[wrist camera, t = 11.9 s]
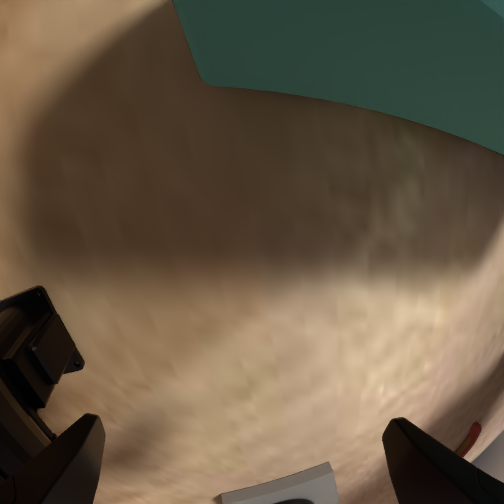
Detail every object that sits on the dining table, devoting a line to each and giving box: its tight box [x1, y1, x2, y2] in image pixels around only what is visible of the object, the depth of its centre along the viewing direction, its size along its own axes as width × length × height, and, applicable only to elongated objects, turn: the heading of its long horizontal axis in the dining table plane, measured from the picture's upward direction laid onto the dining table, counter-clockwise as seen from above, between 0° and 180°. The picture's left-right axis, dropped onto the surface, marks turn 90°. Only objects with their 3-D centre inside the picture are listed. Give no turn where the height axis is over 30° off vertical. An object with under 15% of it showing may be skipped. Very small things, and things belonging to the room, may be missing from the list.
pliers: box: [455, 422, 482, 458], centre depth 35 cm, size 12×20×3 cm, turn 7°
